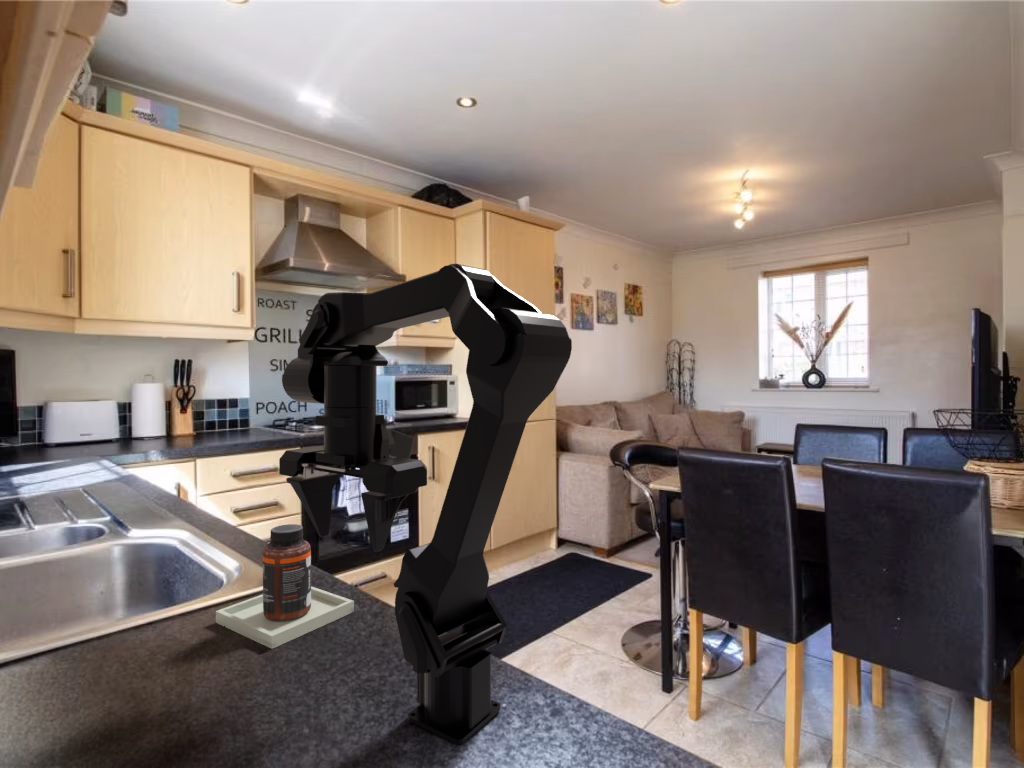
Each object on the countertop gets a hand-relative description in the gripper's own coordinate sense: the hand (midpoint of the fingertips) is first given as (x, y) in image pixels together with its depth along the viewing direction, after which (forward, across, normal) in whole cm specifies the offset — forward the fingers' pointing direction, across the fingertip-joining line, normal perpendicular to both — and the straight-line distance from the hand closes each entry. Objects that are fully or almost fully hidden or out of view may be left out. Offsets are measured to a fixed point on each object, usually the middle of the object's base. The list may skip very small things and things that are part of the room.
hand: (350, 542), depth 64 cm
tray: (+13, +15, -2) cm, 20 cm away
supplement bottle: (+13, +15, -2) cm, 20 cm away
